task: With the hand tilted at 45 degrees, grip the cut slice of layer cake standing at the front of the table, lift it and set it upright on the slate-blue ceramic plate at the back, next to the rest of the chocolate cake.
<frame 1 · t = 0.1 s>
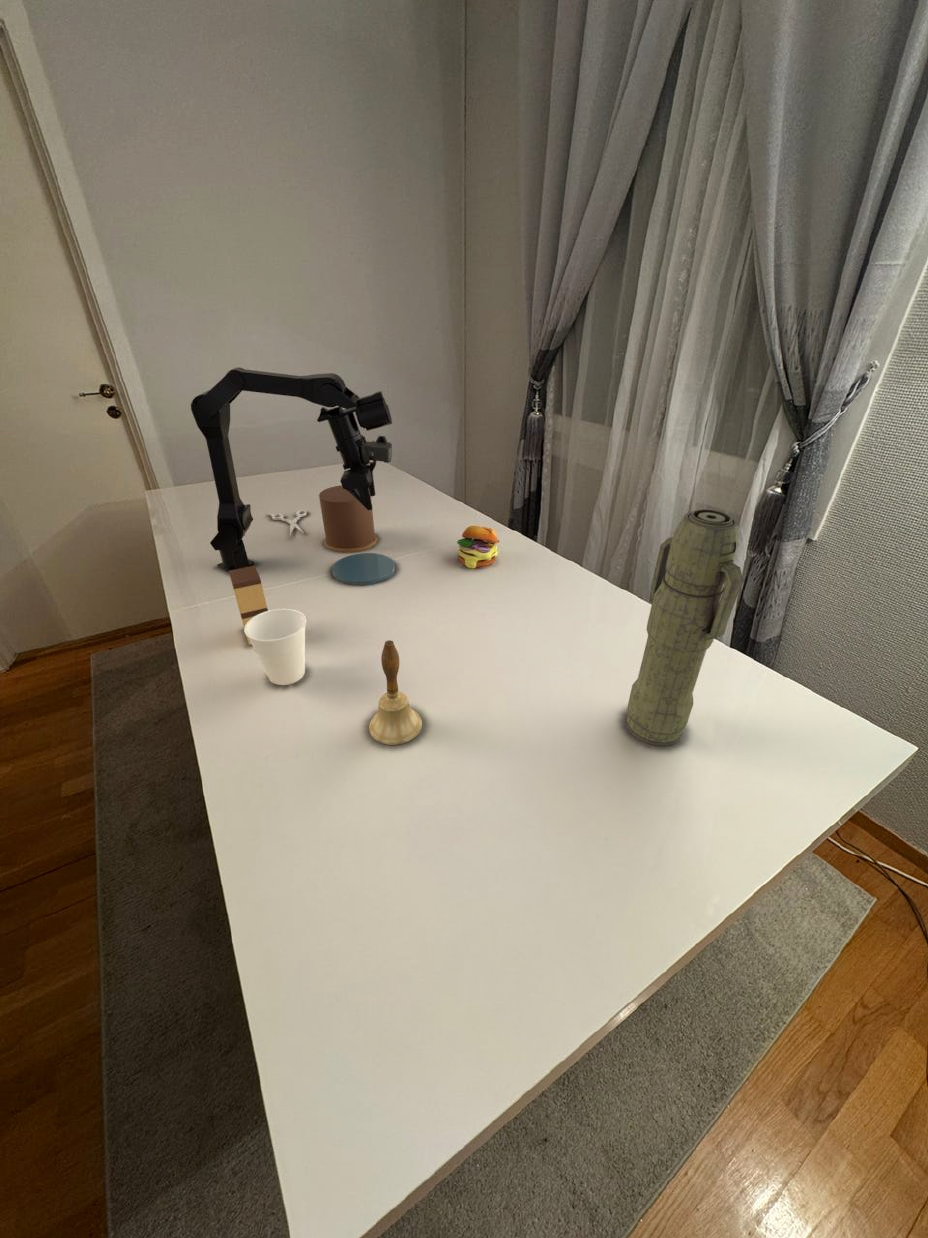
hand: (371, 502, 122), 15 cm above the table, tool pointing down, fingers open, 9 cm apart
cheeseburger: (477, 560, 131), on the table
cup: (287, 676, 92), on the table
hand bell: (395, 726, 82), on the table
plate: (364, 570, 126), on the table
thermos: (653, 726, 82), on the table
scissors: (292, 524, 150), on the table
cake slice: (259, 634, 103), on the table
cake: (351, 541, 140), on the table
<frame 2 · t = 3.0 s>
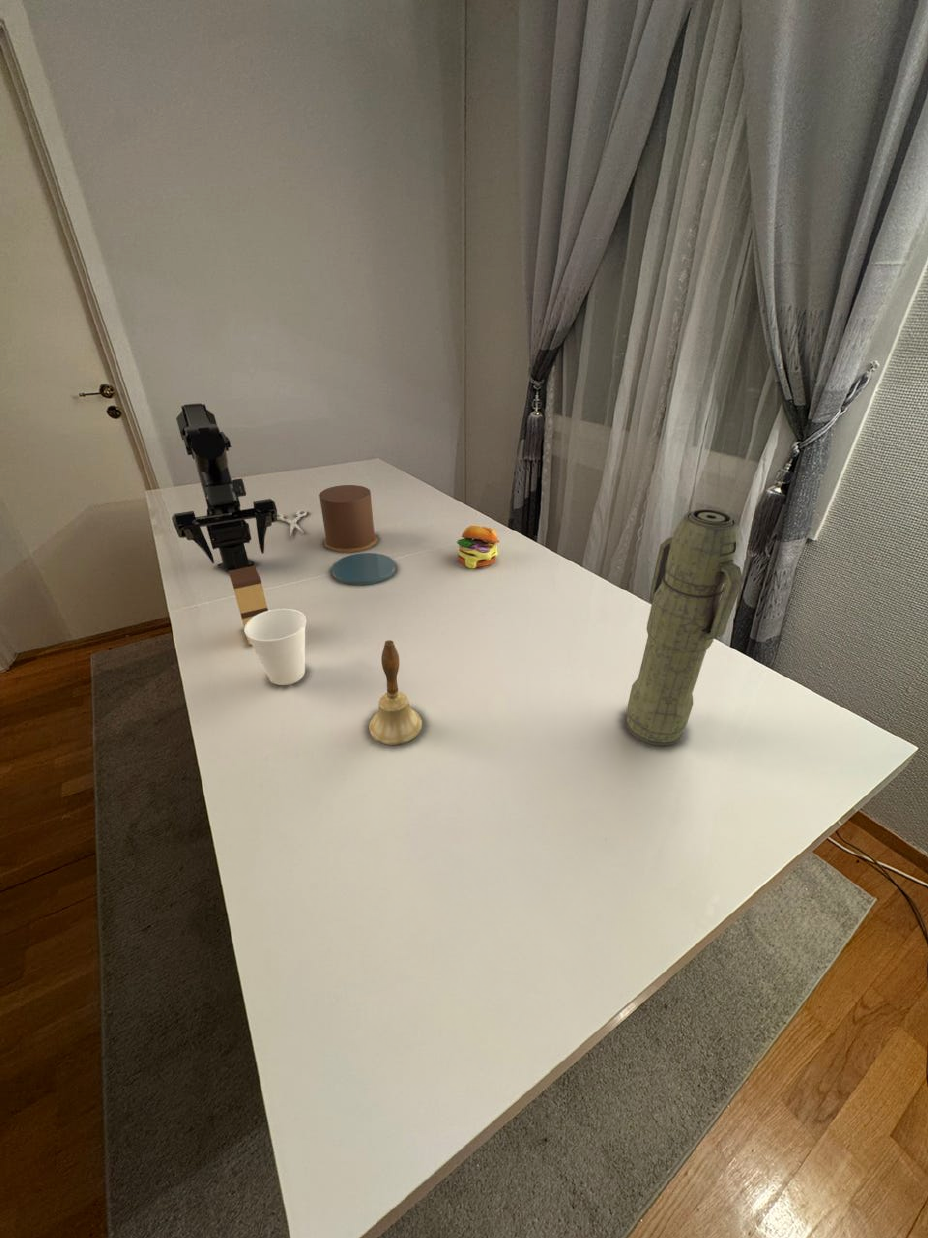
hand: (238, 557, 102), 13 cm above the table, tool tilted 45°, fingers open, 9 cm apart
nothing on the table moved.
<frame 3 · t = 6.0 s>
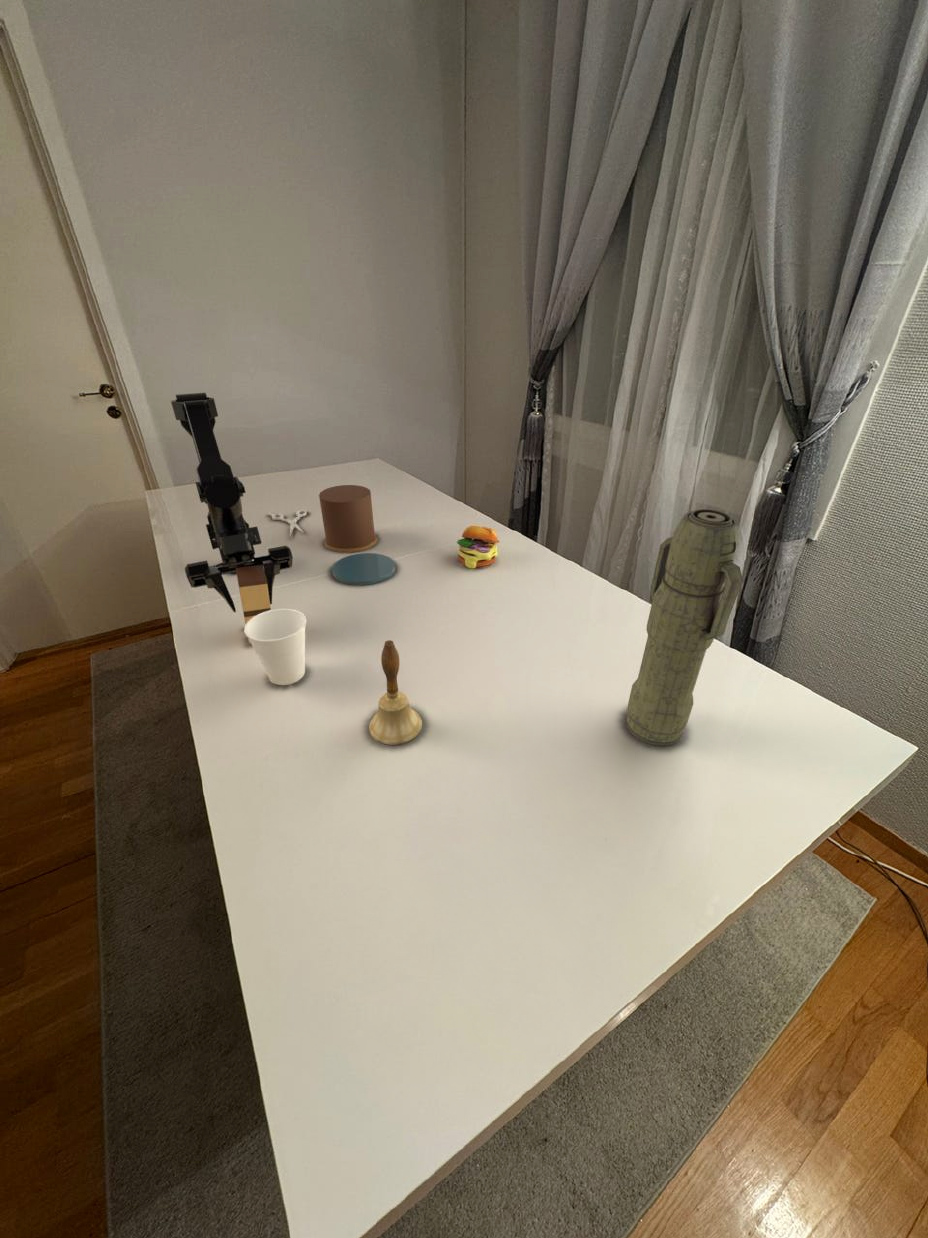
hand: (253, 607, 98), 7 cm above the table, tool tilted 45°, fingers closed on cake slice, 6 cm apart
cake slice: (260, 633, 103), on the table, touching gripper
everything else where it was.
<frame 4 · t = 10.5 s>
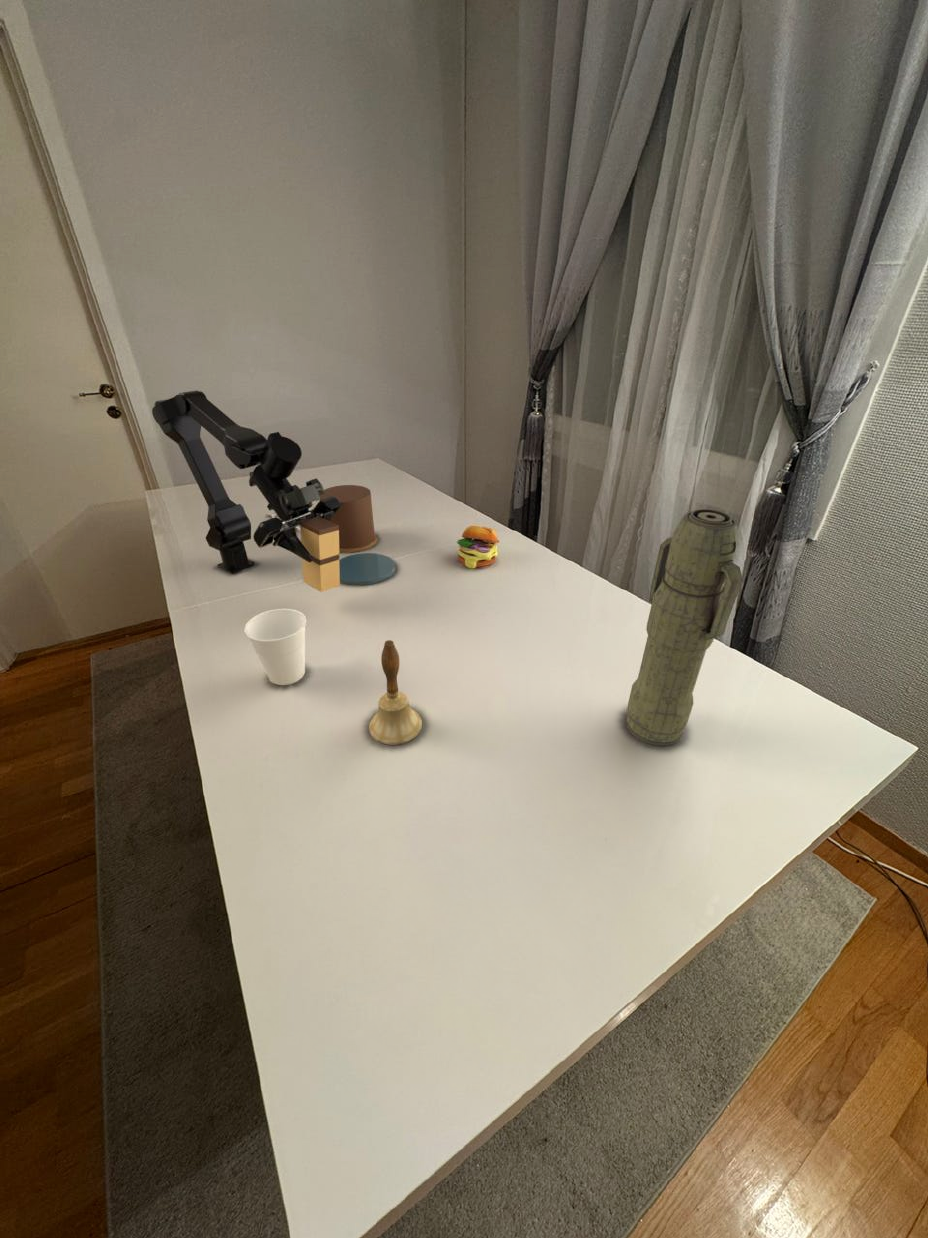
hand: (323, 555, 104), 12 cm above the table, tool tilted 45°, fingers closed on cake slice, 6 cm apart
cake slice: (321, 583, 109), point 5 cm above the table, tilted 6°, touching gripper
everything else where it was.
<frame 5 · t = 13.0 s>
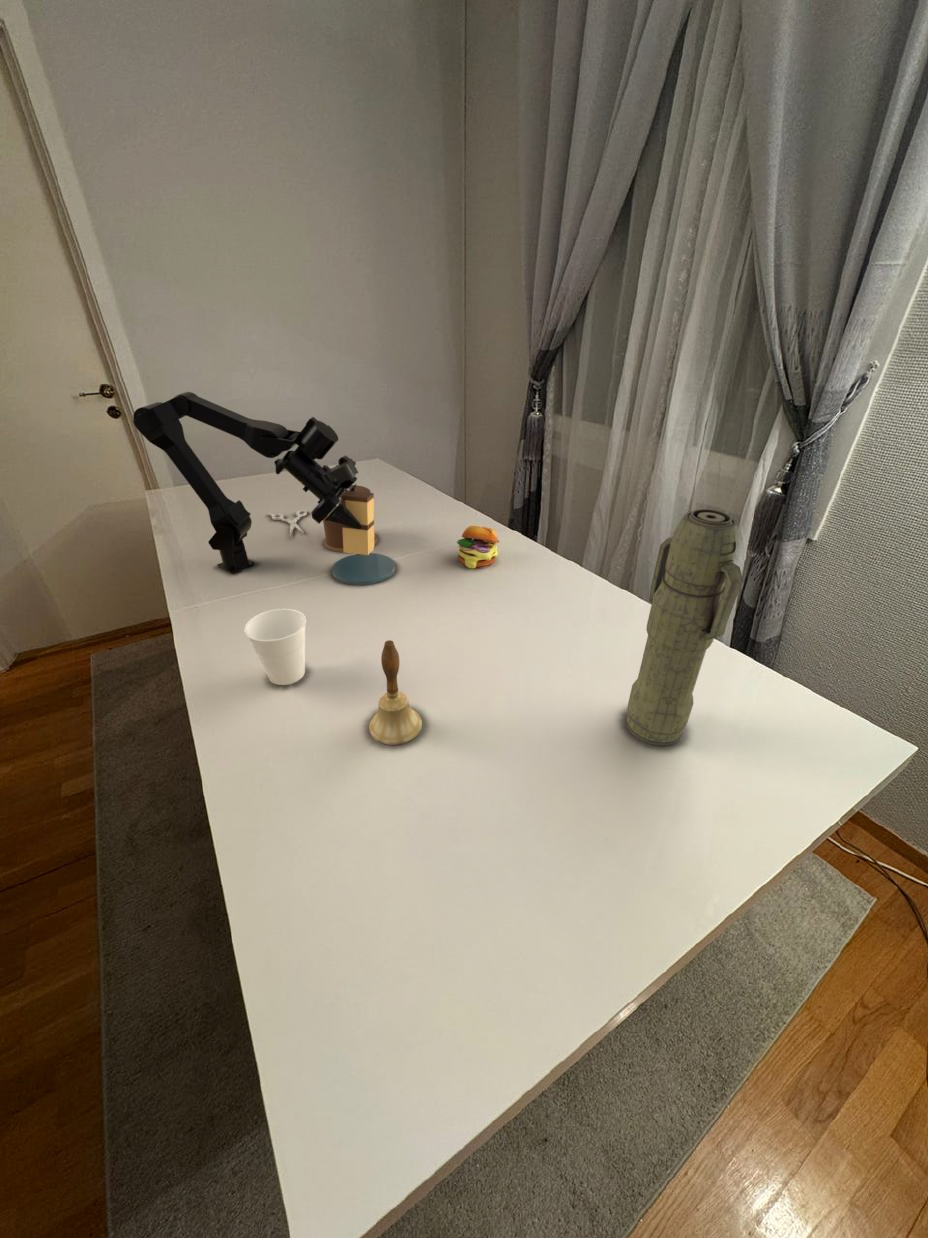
hand: (364, 522, 119), 12 cm above the table, tool tilted 45°, fingers closed on cake slice, 6 cm apart
cake slice: (359, 550, 123), point 5 cm above the table, tilted 6°, touching gripper
everything else where it was.
when the fingers open (8 cm above the table, at t = 15.1 s): cake slice stays where it is, resting on plate.
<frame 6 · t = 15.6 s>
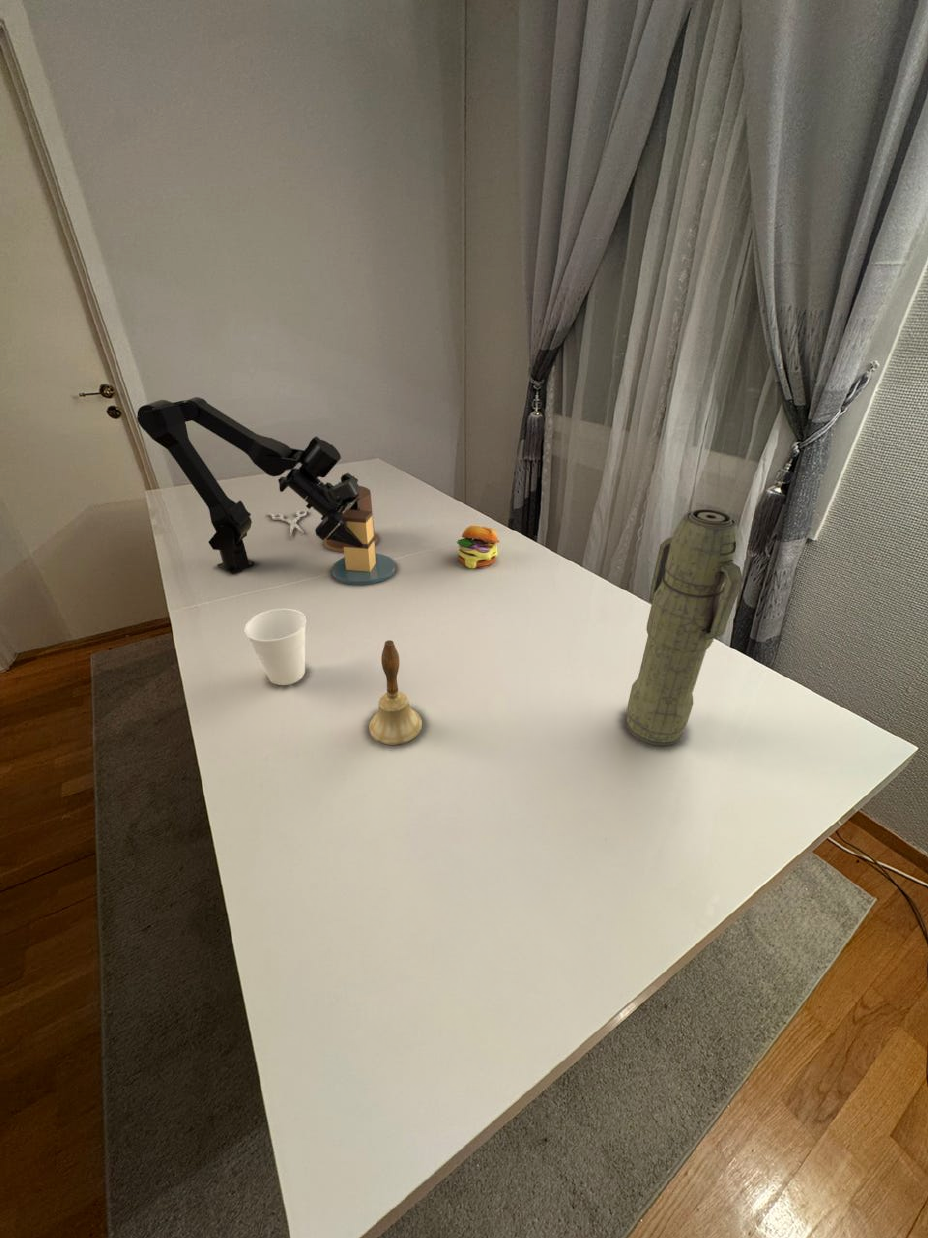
hand: (366, 537, 121), 9 cm above the table, tool tilted 45°, fingers open, 9 cm apart
cake slice: (361, 566, 125), point 1 cm above the table, touching plate
everything else where it was.
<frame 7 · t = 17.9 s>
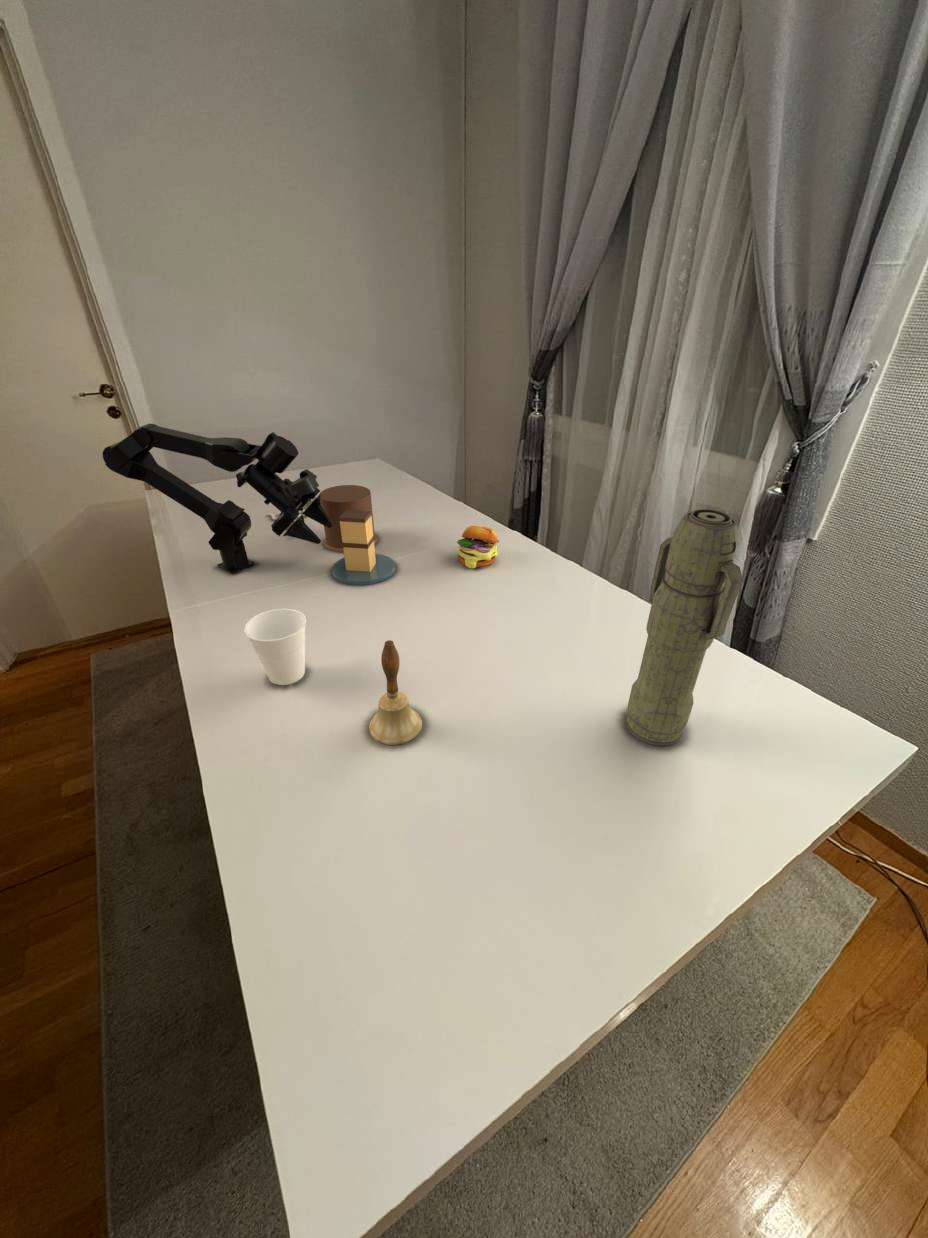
hand: (326, 534, 122), 9 cm above the table, tool tilted 45°, fingers open, 9 cm apart
nothing on the table moved.
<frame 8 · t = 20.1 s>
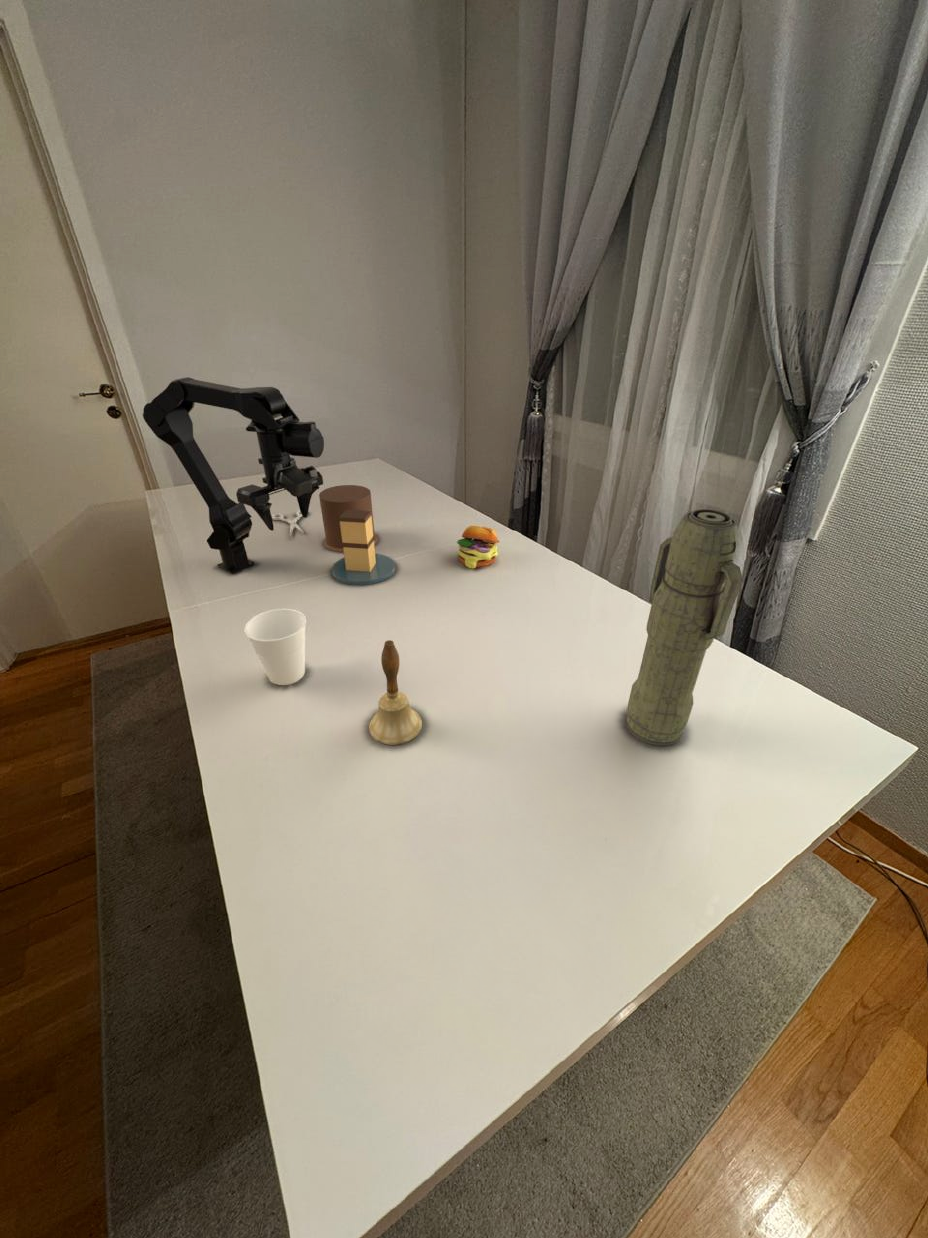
hand: (288, 523, 117), 13 cm above the table, tool pointing down, fingers open, 9 cm apart
nothing on the table moved.
at the end: cake slice inside the target area on the plate (0.6 cm from its centre), point 1.0 cm above the plate's base; cake slice tilted 0°; the gripper is holding nothing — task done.
